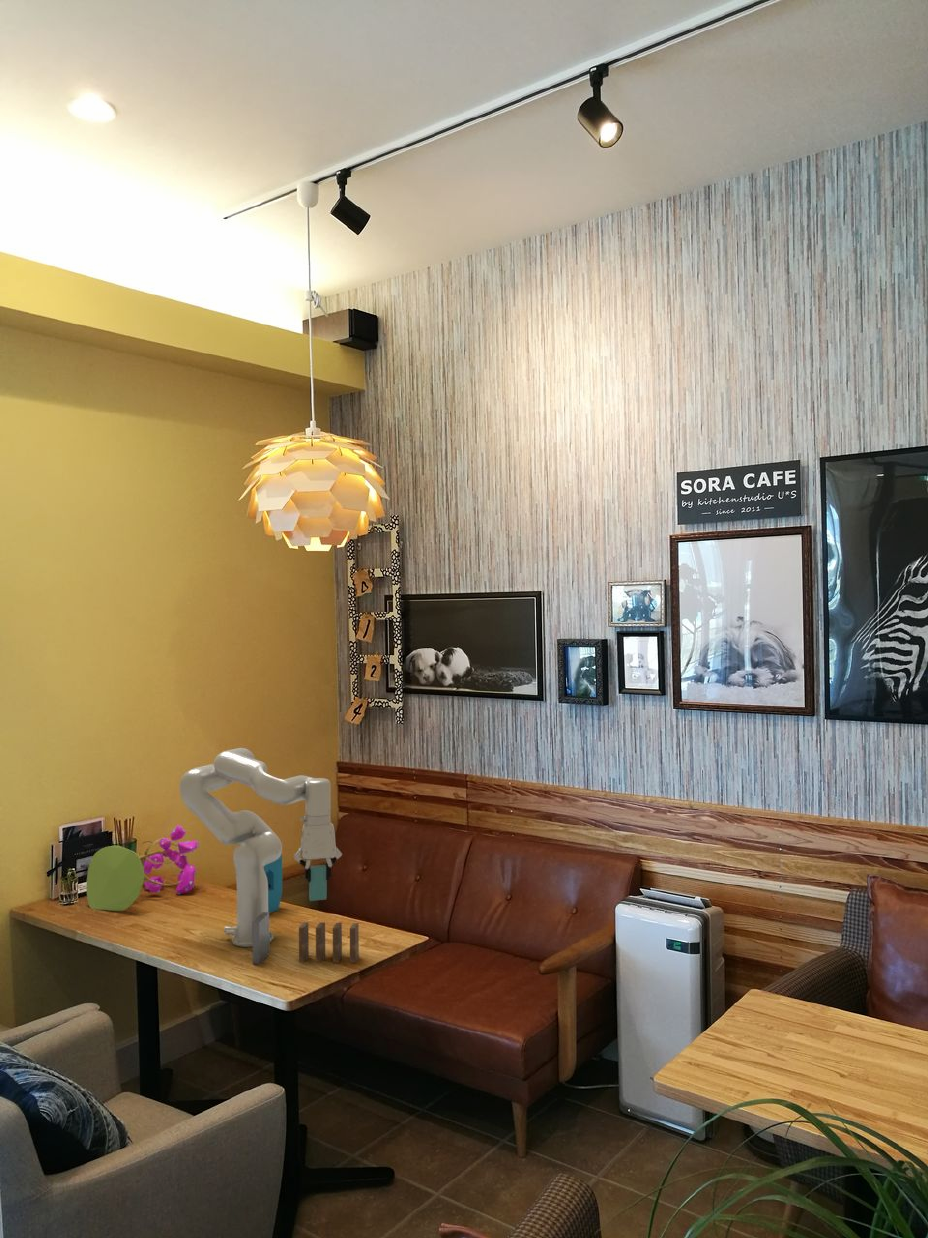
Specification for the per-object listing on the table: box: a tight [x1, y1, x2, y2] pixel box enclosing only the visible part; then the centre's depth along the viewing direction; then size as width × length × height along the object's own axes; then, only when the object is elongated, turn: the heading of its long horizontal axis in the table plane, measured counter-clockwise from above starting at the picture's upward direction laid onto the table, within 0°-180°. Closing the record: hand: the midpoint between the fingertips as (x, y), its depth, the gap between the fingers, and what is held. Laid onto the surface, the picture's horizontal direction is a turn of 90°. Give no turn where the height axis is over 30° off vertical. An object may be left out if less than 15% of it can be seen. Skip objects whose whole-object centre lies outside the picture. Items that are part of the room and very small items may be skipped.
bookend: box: [252, 912, 271, 965], centre depth 280 cm, size 2×10×12 cm, turn 175°
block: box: [263, 853, 283, 914], centre depth 326 cm, size 12×5×20 cm, turn 140°
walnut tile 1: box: [349, 922, 360, 964], centre depth 278 cm, size 2×5×10 cm, turn 175°
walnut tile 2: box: [332, 922, 343, 964], centre depth 278 cm, size 2×5×10 cm, turn 175°
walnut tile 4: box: [298, 921, 310, 963], centre depth 279 cm, size 2×5×10 cm, turn 175°
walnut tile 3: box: [315, 921, 326, 963], centre depth 279 cm, size 2×5×10 cm, turn 175°
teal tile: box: [308, 864, 328, 902], centre depth 287 cm, size 2×5×10 cm, turn 109°
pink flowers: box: [85, 824, 200, 912], centre depth 345 cm, size 30×28×35 cm
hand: (317, 879), depth 287 cm, fingers closed on teal tile, 4 cm apart
